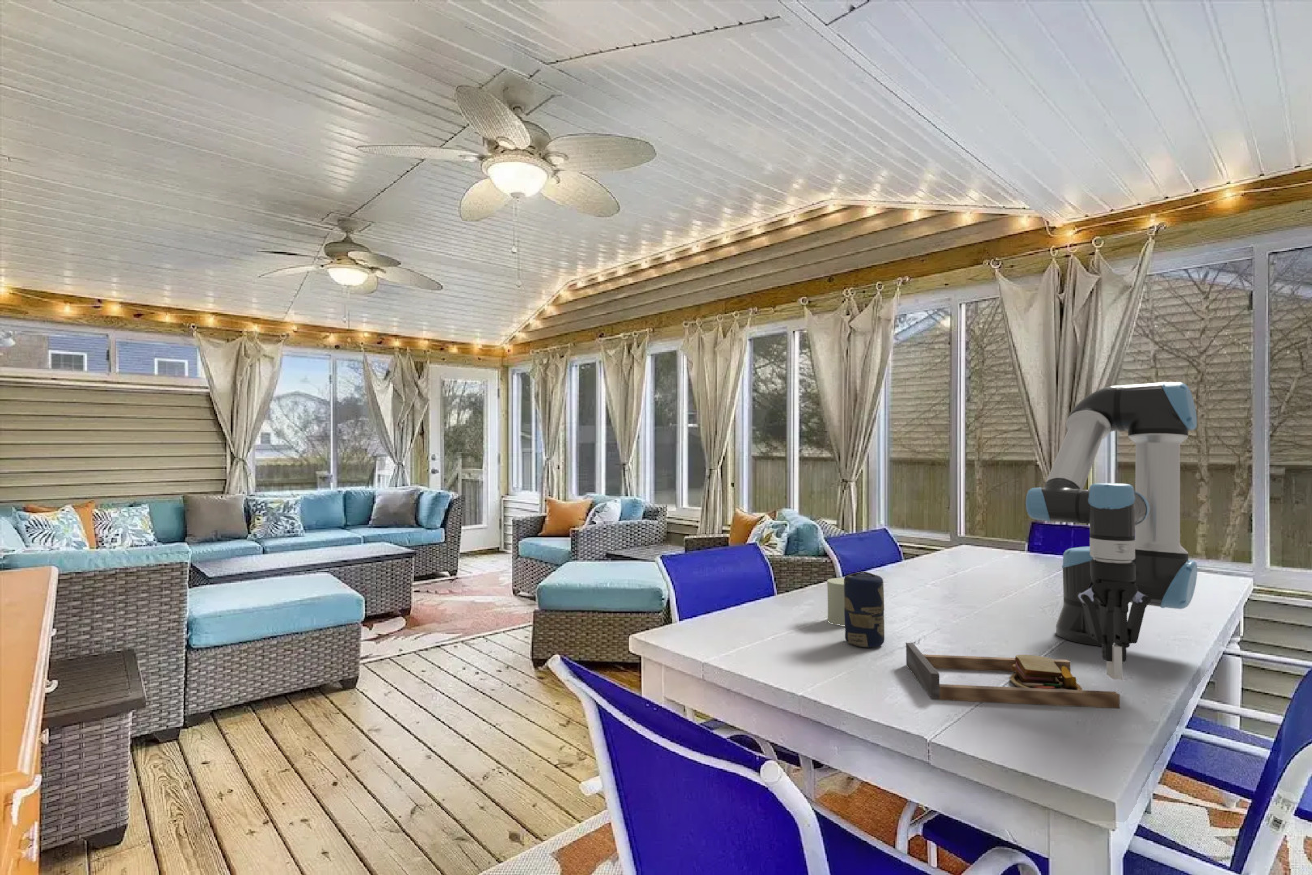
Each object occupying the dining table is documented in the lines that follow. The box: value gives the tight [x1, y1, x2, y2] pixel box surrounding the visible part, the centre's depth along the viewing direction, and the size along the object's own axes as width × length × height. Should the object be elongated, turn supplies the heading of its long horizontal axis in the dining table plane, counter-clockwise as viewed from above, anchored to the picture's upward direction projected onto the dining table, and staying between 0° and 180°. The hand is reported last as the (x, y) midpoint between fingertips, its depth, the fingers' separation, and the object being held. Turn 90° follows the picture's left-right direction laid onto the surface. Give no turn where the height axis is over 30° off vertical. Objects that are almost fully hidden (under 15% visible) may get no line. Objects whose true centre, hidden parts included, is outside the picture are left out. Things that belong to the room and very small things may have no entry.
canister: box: [843, 571, 885, 648], centre depth 160 cm, size 10×10×18 cm
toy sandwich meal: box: [1009, 654, 1083, 690], centre depth 131 cm, size 12×14×5 cm
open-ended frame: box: [905, 642, 1121, 709], centre depth 132 cm, size 34×20×5 cm, turn 82°
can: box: [826, 577, 845, 625], centre depth 180 cm, size 9×9×12 cm
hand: (1114, 677), depth 129 cm, fingers closed
